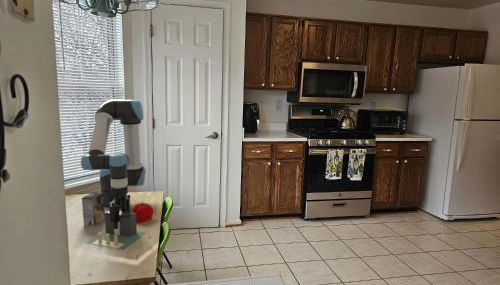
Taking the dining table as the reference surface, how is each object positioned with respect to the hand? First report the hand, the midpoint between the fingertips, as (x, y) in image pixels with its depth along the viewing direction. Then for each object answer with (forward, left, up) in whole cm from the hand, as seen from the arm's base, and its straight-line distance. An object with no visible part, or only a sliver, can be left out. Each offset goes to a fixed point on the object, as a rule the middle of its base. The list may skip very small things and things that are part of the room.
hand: (121, 231), depth 162 cm
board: (+5, +2, -2) cm, 6 cm away
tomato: (-19, 0, -2) cm, 19 cm away
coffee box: (-7, -21, -2) cm, 22 cm away
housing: (0, 0, 0) cm, 0 cm away
